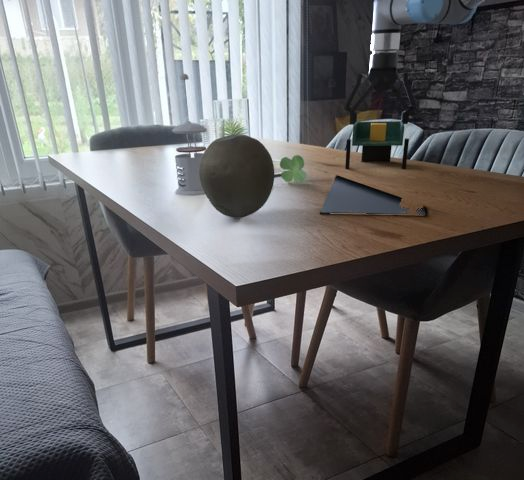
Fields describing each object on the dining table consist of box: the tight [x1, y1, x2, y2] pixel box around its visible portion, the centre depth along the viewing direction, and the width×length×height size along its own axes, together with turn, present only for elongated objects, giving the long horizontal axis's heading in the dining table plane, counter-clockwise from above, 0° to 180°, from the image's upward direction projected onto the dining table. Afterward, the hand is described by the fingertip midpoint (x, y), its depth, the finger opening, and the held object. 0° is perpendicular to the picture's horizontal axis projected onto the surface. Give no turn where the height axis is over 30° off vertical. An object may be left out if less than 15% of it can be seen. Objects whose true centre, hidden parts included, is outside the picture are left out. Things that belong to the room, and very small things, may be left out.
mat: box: [319, 174, 427, 216], centre depth 110 cm, size 40×20×1 cm, turn 168°
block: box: [370, 123, 386, 141], centre depth 130 cm, size 4×4×4 cm
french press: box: [171, 73, 208, 196], centre depth 113 cm, size 10×12×25 cm
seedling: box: [279, 154, 308, 183], centre depth 127 cm, size 7×8×7 cm
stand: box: [344, 137, 410, 170], centre depth 132 cm, size 14×16×9 cm
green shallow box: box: [351, 120, 405, 147], centre depth 133 cm, size 22×13×5 cm, turn 168°
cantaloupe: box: [199, 133, 275, 219], centre depth 90 cm, size 14×14×15 cm
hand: (377, 136), depth 143 cm, fingers open, 13 cm apart
